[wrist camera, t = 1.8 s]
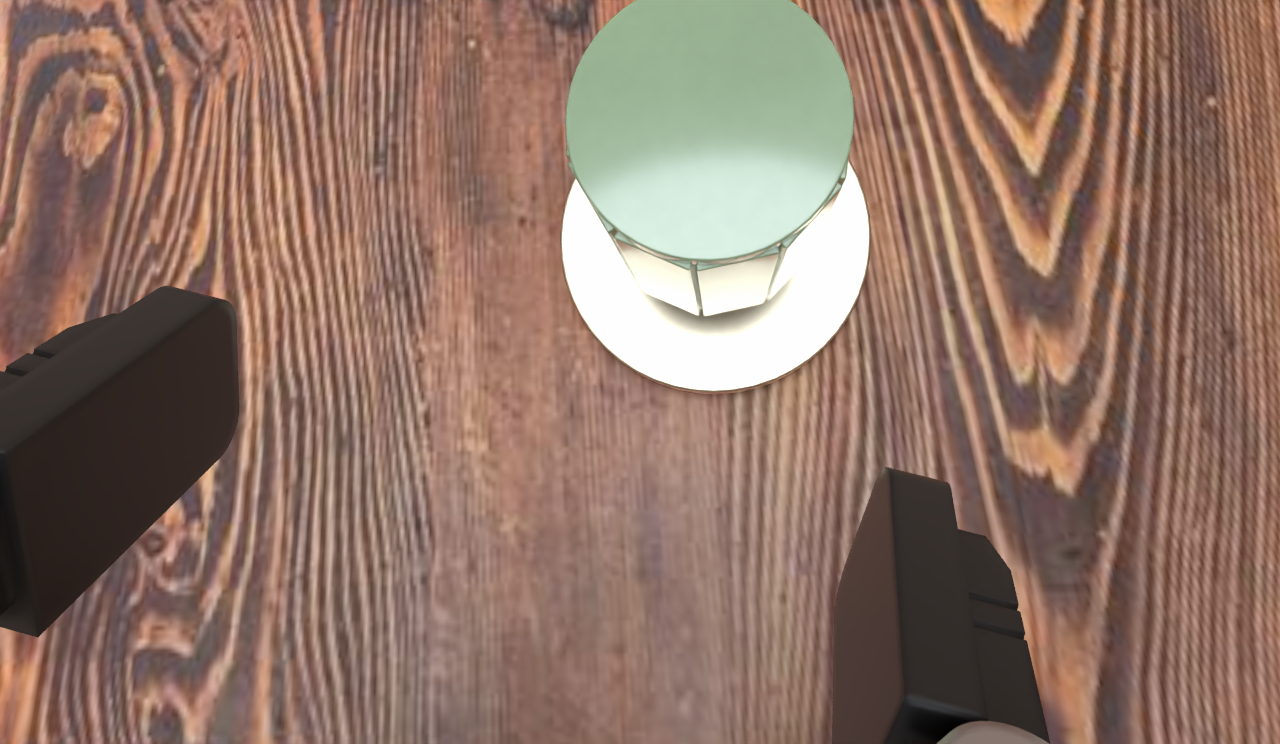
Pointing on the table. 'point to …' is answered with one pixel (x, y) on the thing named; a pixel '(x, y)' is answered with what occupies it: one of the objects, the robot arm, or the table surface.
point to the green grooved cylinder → (711, 144)
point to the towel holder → (725, 342)
